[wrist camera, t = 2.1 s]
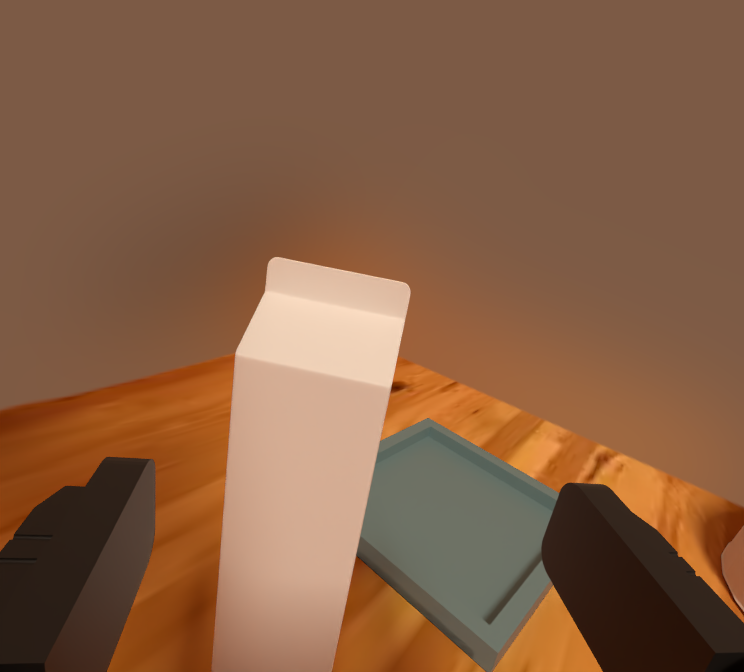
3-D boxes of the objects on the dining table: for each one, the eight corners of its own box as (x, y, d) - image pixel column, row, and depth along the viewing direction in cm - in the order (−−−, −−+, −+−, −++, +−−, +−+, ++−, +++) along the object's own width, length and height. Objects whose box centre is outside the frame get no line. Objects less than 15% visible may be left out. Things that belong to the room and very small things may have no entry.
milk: (251, 591, 29) (288, 244, 22) (345, 613, 29) (415, 268, 22) (207, 691, 24) (237, 268, 16) (323, 721, 23) (409, 302, 16)
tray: (294, 499, 38) (296, 481, 37) (424, 432, 51) (428, 417, 50) (489, 674, 27) (498, 653, 26) (590, 531, 40) (597, 515, 40)
